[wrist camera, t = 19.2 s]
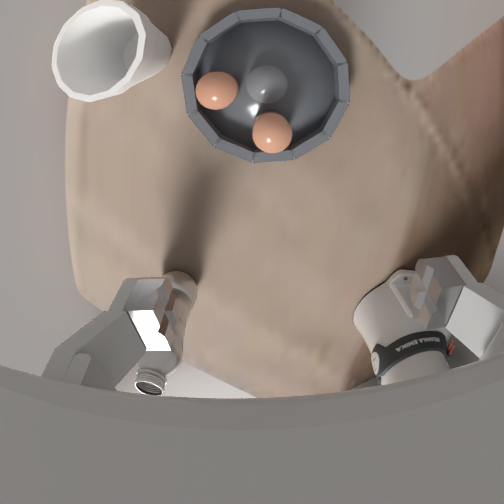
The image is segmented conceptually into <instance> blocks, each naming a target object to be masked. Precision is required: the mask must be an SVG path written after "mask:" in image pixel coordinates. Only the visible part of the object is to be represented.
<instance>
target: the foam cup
mask: <svg viewBox="0 0 504 504" xmlns="http://www.w3.org/2000/svg"><path fill="white" fill-rule="evenodd" d="M171 50H172V47H171V44H170V41H169V38H168V37H167V36H166V35H164V34H163V33H162V32H161V31H160V30H159V29H158V28H157V27H156V26H154V25H153V24H152V23H151V22H150V20H149V17H147V16H146V15H145V14H144V13H142V12H141V11H140V10H139V9H137V8H136V7H135V6H133V5H131V4H128V3H126V2H123V1H114V0H100V1H97V2H95V3H92V4H90V5H87V6H85V7H83V8H81V9H79V10H78V12H76V13H75V14H74V15H73V16H72V17H71V18H70V19H69V20H68V21H67V22H66V23H65V24H64V25H63V27H62V29H61V31H60V33H59V35H58V37H57V39H56V41H55V43H54V47H53V57H52V69H53V72H54V75H55V78H56V81H57V84H58V86H59V87H60V88H61V89H62V90H63V91H64V92H65V93H66V94H68V95H69V96H70V97H71V98H73V99H78V100H82V101H86V102H93V101H96V100H100V99H103V98H107V97H111V96H115V95H119V94H122V93H124V92H125V91H126V90H127V89H129V88H130V87H131V86H133V85H135V84H137V83H139V82H141V81H143V80H145V79H147V78H149V77H151V76H153V75H155V74H157V73H158V72H159V71H161V70H162V69H164V68H165V66H166V64H167V63H168V61H169V60H170V57H171Z"/></svg>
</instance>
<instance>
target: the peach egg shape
mask: <svg viewBox="0 0 504 504" xmlns="http://www.w3.org/2000/svg"><path fill="white" fill-rule="evenodd" d="M238 93H239V83H238V81H237V79H236V78H235V77H234V76H233V75H232V74H230V73H227V72H210V73H208V74H206V75H204V76H203V77H202V78H201V79H200V80H199V81H198V83H197V85H196V97H197V99H198V101H199V102H200V103H201V104H202V105H203V106H204V107H206V108H209V109H213V110H218V109H222V108H225V107H226V106H228V105H229V104H230V103H231V102H232V101H233V100H234V99H235V98H236V97H237V95H238Z"/></svg>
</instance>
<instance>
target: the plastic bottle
mask: <svg viewBox="0 0 504 504" xmlns="http://www.w3.org/2000/svg"><path fill="white" fill-rule="evenodd" d="M163 277H168V278H169V279H170V281H171V283H172V286H173V288H172V291H171V293H172V294H173V295H174V296H176V298H177V301H178V305H179V320H178V324H177V325H176V326H175V327H174V328H173V332H174V334H175V335H174V339H173V343H172V347H171V350H147V352H146V353H145V354H144V356H143V357H142V358H141V359H140V360H139V361H138V362H137V363H138V366H139V368H140V369H138V371H137V374H136V380H135V387H136V388H137V389H138V390H139V391H140V392H142V393H144V394H147V395H158V396H161V395H163V392H164V389H165V386H166V383H167V378H166V377H168V376H169V375H171V374H172V373H173V372H174V371H175V370H177V368H178V367H179V365H180V364H181V362H182V356H183V341H184V333H185V327H186V322H187V320H188V317H189V314H190V311H191V309H192V308H193V306H194V304H195V301H196V299H197V286H196V283H195V281H194V280H193V279H192V278H191V277H190V276H189V275H188V274H186V273H184V272H181V271H172V272H168V273H166V274H165V275H164V276H163Z"/></svg>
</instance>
